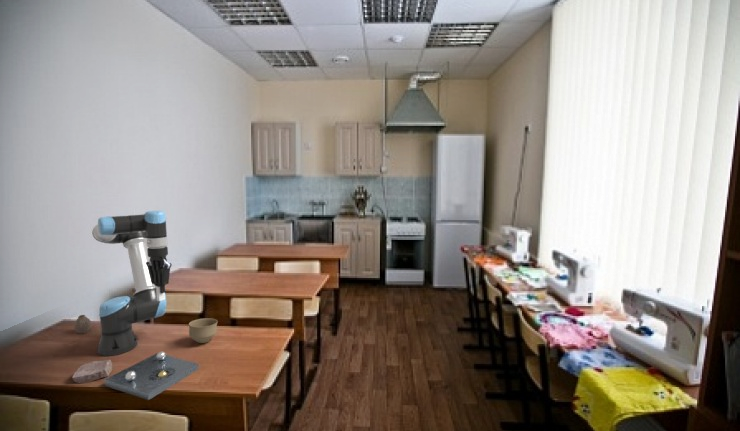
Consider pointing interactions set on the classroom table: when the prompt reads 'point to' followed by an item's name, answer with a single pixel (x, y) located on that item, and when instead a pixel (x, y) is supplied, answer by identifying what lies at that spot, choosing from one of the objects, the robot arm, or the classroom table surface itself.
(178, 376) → the plate
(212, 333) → the bowl
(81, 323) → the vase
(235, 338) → the classroom table surface
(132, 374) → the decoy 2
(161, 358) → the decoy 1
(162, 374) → the brass ball
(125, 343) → the robot arm
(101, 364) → the stone
